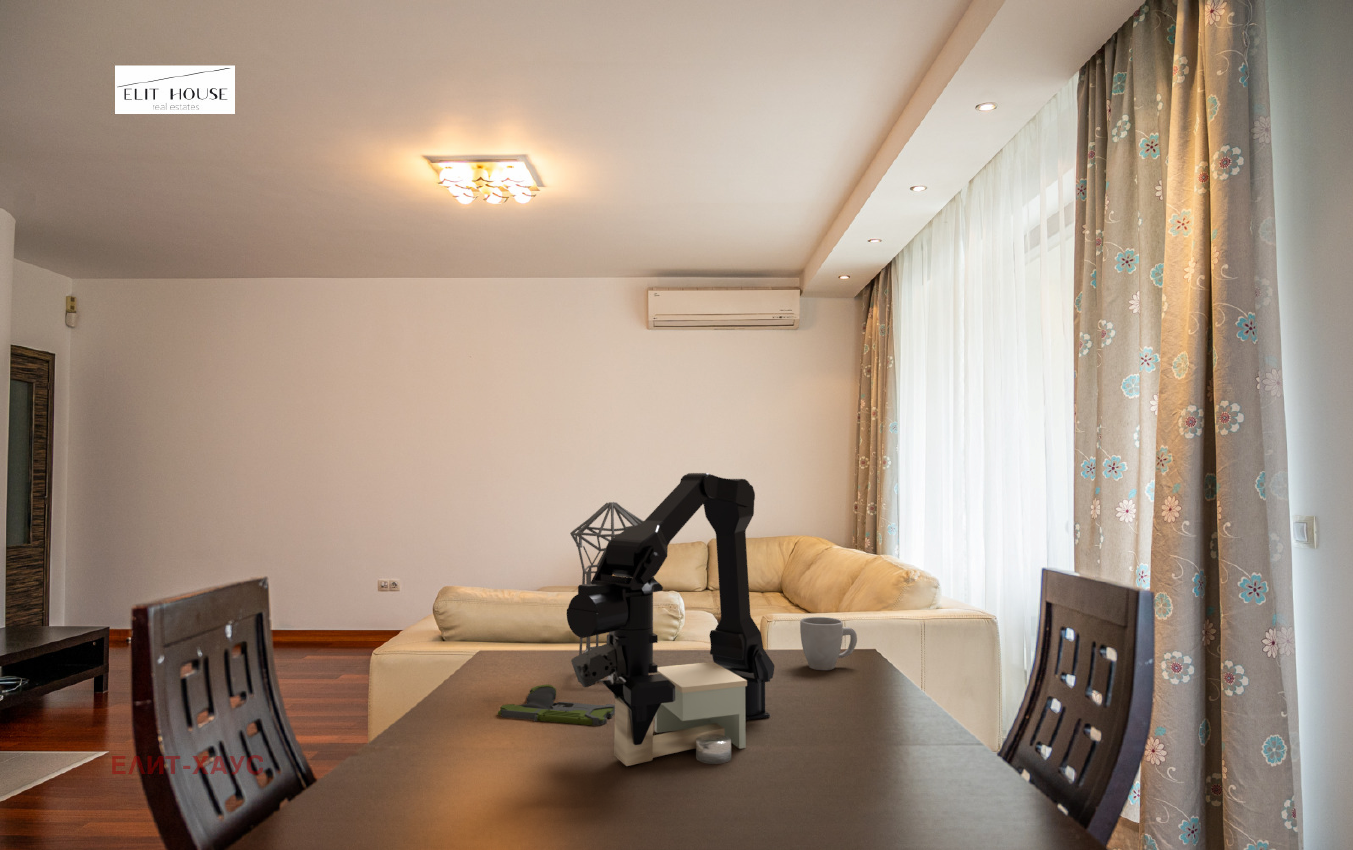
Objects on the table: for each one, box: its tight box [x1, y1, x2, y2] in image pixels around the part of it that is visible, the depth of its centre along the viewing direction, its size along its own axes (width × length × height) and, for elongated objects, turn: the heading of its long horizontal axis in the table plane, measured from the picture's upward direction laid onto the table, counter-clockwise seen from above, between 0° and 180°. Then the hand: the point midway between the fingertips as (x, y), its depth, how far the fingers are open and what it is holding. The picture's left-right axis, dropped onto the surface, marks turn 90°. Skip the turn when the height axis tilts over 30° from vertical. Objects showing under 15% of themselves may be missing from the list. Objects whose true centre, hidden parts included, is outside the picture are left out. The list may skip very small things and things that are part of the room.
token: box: [695, 734, 732, 765], centre depth 111 cm, size 5×5×2 cm
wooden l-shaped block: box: [613, 698, 724, 767], centre depth 112 cm, size 16×4×8 cm, turn 120°
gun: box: [497, 684, 615, 726], centre depth 134 cm, size 2×19×15 cm
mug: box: [799, 616, 858, 671], centre depth 163 cm, size 12×9×10 cm
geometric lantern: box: [570, 501, 644, 683], centre depth 156 cm, size 16×16×35 cm
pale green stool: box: [653, 661, 747, 750], centre depth 119 cm, size 10×12×10 cm
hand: (632, 739), depth 109 cm, fingers closed on wooden l-shaped block, 4 cm apart
